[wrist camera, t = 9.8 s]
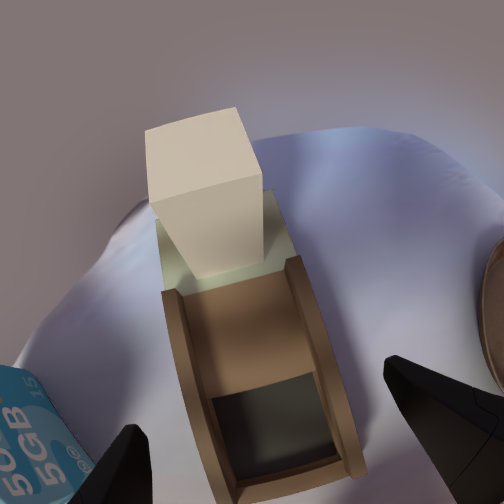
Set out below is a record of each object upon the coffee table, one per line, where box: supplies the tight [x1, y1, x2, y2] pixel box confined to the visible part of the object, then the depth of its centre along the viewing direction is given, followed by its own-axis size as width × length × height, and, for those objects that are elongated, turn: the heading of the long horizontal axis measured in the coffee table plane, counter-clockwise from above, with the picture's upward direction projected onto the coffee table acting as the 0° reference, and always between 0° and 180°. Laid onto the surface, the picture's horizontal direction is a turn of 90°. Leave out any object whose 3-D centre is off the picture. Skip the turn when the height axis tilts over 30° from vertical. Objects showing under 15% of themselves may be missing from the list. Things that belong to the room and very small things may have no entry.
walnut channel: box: [155, 189, 368, 504], centre depth 19 cm, size 23×10×4 cm, turn 15°
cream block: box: [145, 107, 264, 280], centre depth 18 cm, size 5×5×10 cm
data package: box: [0, 365, 96, 504], centre depth 12 cm, size 12×4×12 cm, turn 46°
